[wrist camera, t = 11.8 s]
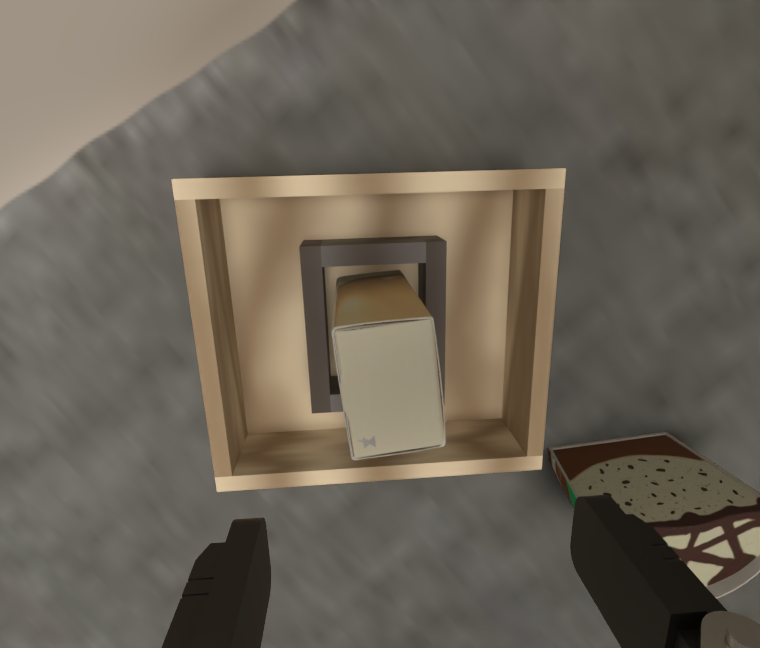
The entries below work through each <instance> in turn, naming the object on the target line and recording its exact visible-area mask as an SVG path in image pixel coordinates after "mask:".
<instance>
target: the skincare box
mask: <svg viewBox="0 0 760 648" xmlns="http://www.w3.org/2000/svg"><path fill="white" fill-rule="evenodd" d="M331 336H332V342H333V349H334V356H335V362H336V369H337V375H338V382H339V388H340V394H341V400H342V406H343V412H344V418H345V424H346V430H347V436H348V442H349V447H350V454H351V458H352V459H353V460H361V459H366V458H376V457H382V456H390V455H396V454H404V453H411V452H417V451H423V450H428V449H433V448H439V447H443V446H444V445H445V443H446V437H445V413H444V400H443V391H442V381H441V371H440V363H439V355H438V347H437V339H436V333H435V326H434V319H433V317H432V316H431V314H430V313H429V311H428V310H427V308H426V307H425V305H424V304H423V303H422V301H421V300H420V298H419V297H418V295H417V294H416V292H415V291H414V290H413V288H412V287H411V285H410V284H409V282H408V281H407V279H406V278H405V276H404V275H403V273H402V272H401V271H400V270H393V271H382V272H373V273H365V274H357V275H349V276H342V277H339V278H337V280H336V290H335V300H334V310H333V320H332V329H331Z"/></svg>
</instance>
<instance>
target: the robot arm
mask: <svg viewBox="0 0 760 648" xmlns="http://www.w3.org/2000/svg"><path fill="white" fill-rule="evenodd" d="M570 548H571V556H572V561H573V564H574V567H575V569H576V571H577V573H578V575H579V577H580V578H581V580H582V582H583V583H584V585H585V587H586V588H587V590H588V592H589V593H590V595H591V597H592V599H593V600H594V602H595V604H596V605H597V607H598V609H599V610H600V612H601V614H602V615H603V617H604V619H605V621H606V622H607V624H608V626H609V627H610V629H611V631H612V632H613V634H614V636H615V637H616V639H617V641H618V643H619V644H620V646H621V648H760V624H759V623H757V622H755V621H753V620H752V619H750V618H747V617H745V616H743V615H740V614H737V613H733V612H728V611H727V610H726V609H725V608H724V607H723V606H722V605H721V603H720V602H719V601H718V600H717V599H716V598H715V597H714V595H713V594H712V593H711V592H710V591H709V590H708V589H707V588H706V586H705V585H704V584H703V583H702V582H701V581H700V580H699V579H698V577H697V576H696V575H695V574H694V573H693V572H692V571H691V569H690V568H689V567H688V566H687V565H686V564H685V563H684V562H683V561H681V560H680V557H679V556H678V555H677V554H676V553H675V551H674V550H673V549H672V548H671V547H668V543H667V542H666V541H665V540H664V539H663V538H662V537H661V536H660V534H659V533H658V532H657V531H656V530H655V529H654V528H653V527H652V526H650V525H649V524H647V523H646V522H644V521H643V520H641V519H640V518H638V517H637V516H635V515H634V514H625V513H624V511H623V510H622V509H621V508H620V507H619V505H618V504H617V503H616V502H615V501H614V499H613V498H612V497H611V496H609V495H594V496H580V497H578V498H577V499H576V501H575V507H574V516H573V526H572V535H571V545H570ZM270 588H271V565H270V556H269V548H268V539H267V530H266V522H265V519H264V518H251V519H236V520H233V522H232V524H231V527H230V530H229V533H228V536H227V539H226V542H224V543H211V544H210V545H209V546H208V547H207V548H206V549H205V550H204V551H203V553H202V554H201V555H200V556H199V557H198V558H197V559H196V560H195V563H194V566H193V568H192V571H191V573H190V576H189V579H188V583H187V584H186V586H185V589H184V591H183V594H182V599H180V602H179V604H178V607H177V609H176V612H175V615H174V617H173V620H172V622H171V625H170V628H169V630H168V633H167V635H166V638H165V640H164V643H163V646H162V648H260V647H261V641H262V636H263V630H264V625H265V619H266V613H267V608H268V602H269V596H270Z"/></svg>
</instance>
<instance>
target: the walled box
mask: <svg viewBox="0 0 760 648" xmlns="http://www.w3.org/2000/svg"><path fill="white" fill-rule="evenodd" d="M565 174H566V168H558V169H522V170H485V171H449V172H413V173H376V174H340V175H304V176H267V177H231V178H195V179H171V180H172V187H173V194H174V201H175V207H176V214H177V221H178V228H179V235H180V242H181V249H182V255H183V262H184V269H185V276H186V283H187V290H188V296H189V303H190V310H191V317H192V324H193V331H194V338H195V344H196V351H197V358H198V365H199V372H200V379H201V385H202V392H203V399H204V406H205V413H206V420H207V427H208V433H209V440H210V447H211V454H212V461H213V468H214V474H215V481H216V488H217V492H222V491H237V490H251V489H266V488H280V487H295V486H309V485H324V484H339V483H353V482H368V481H382V480H397V479H411V478H426V477H440V476H455V475H469V474H484V473H498V472H513V471H527V470H542V459H543V446H544V434H545V422H546V409H547V397H548V385H549V372H550V360H551V347H552V335H553V323H554V310H555V298H556V286H557V273H558V261H559V249H560V236H561V224H562V212H563V199H564V187H565ZM393 270H400V271H401V272H402V273H403V275H404V276H405V278H406V279H407V281H408V282H409V284H410V285H411V287H412V288H413V290H414V291H415V292H416V294H417V295H418V297H419V298H420V300H421V301H422V303H423V304H424V305H425V307H426V308H427V310H428V311H429V313H430V314H431V316H432V317H433V319H434V326H435V333H436V339H437V347H438V355H439V363H440V371H441V381H442V391H443V400H444V413H445V437H446V443H445V445H444V446H443V447H439V448H433V449H428V450H423V451H417V452H411V453H404V454H396V455H390V456H382V457H376V458H366V459H361V460H353V459H352V458H351V454H350V447H349V442H348V436H347V430H346V424H345V418H344V412H343V406H342V400H341V394H340V388H339V382H338V375H337V369H336V362H335V356H334V349H333V342H332V336H331V329H332V320H333V310H334V300H335V290H336V280H337V278H339V277H342V276H349V275H357V274H365V273H373V272H382V271H393Z"/></svg>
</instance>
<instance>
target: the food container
mask: <svg viewBox="0 0 760 648" xmlns="http://www.w3.org/2000/svg"><path fill="white" fill-rule="evenodd" d="M548 454H549V461H550V463H551V465H552V468H553V470H554V472H555V474H556V476H557V478H558V480H559V482H560V484H561V486H562V487H563V489H564V491H565V493H566V495H567V497H568V499H569V500H570V502H571V504H572V506H573V508H574V507H575V501H576V499H577V498H578V497H580V496H594V495H609V496H611V497H612V498H613V499H614V501H615V502H616V503H617V504H618V505H619V507H620V508H621V509H622V510H623V511H624V513H625V514H634V515H635V516H637V517H638V518H640V519H641V520H643V521H644V522H646V523H647V524H649V525H650V526H652V527H653V528H654V529H655V530H656V531H657V532H658V533H659V534H660V536H661V537H662V538H663V539H664V540H665V541H666V542H667V543H668V547H671V548H672V549H673V550H674V551H675V553H676V554H677V555H678V556H679V557H680V560H681V561H683V562H684V563H685V564H686V565H687V566H688V567H689V568H690V569H691V571H692V572H693V573H694V574H695V575H696V576H697V577H698V579H699V580H700V581H701V582H702V583H703V584H704V585H705V586H706V588H707V589H708V590H709V591H710V592H711V593H712V594H713V595H714V597H715V598H716V599H717V598H720V597H722V596H724V595H726V594H728V593H730V592H732V591H734V590H736V589H737V588H739V587H741V586H742V585H744V584H746V583H747V582H748V581H749V580H751V579H752V578H753V577H755V576H756V575H757V574H758V573H759V572H760V493H759V492H757V491H756V490H754V489H753V488H751V487H750V486H748V485H747V484H745V483H744V482H742V481H741V480H739V479H738V478H736V477H735V476H733V475H732V474H730V473H728V472H727V471H725V470H724V469H722V468H721V467H719V466H718V465H716V464H715V463H713V462H712V461H710V460H709V459H707V458H706V457H704V456H702V455H701V454H699V453H698V452H696V451H695V450H693V449H692V448H690V447H689V446H687V445H686V444H684V443H683V442H681V441H680V440H678V439H677V438H675V437H673V436H672V435H670V434H669V433H667V432H658V433H651V434H644V435H636V436H629V437H621V438H614V439H607V440H599V441H592V442H585V443H577V444H570V445H562V446H555V447H548Z"/></svg>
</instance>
